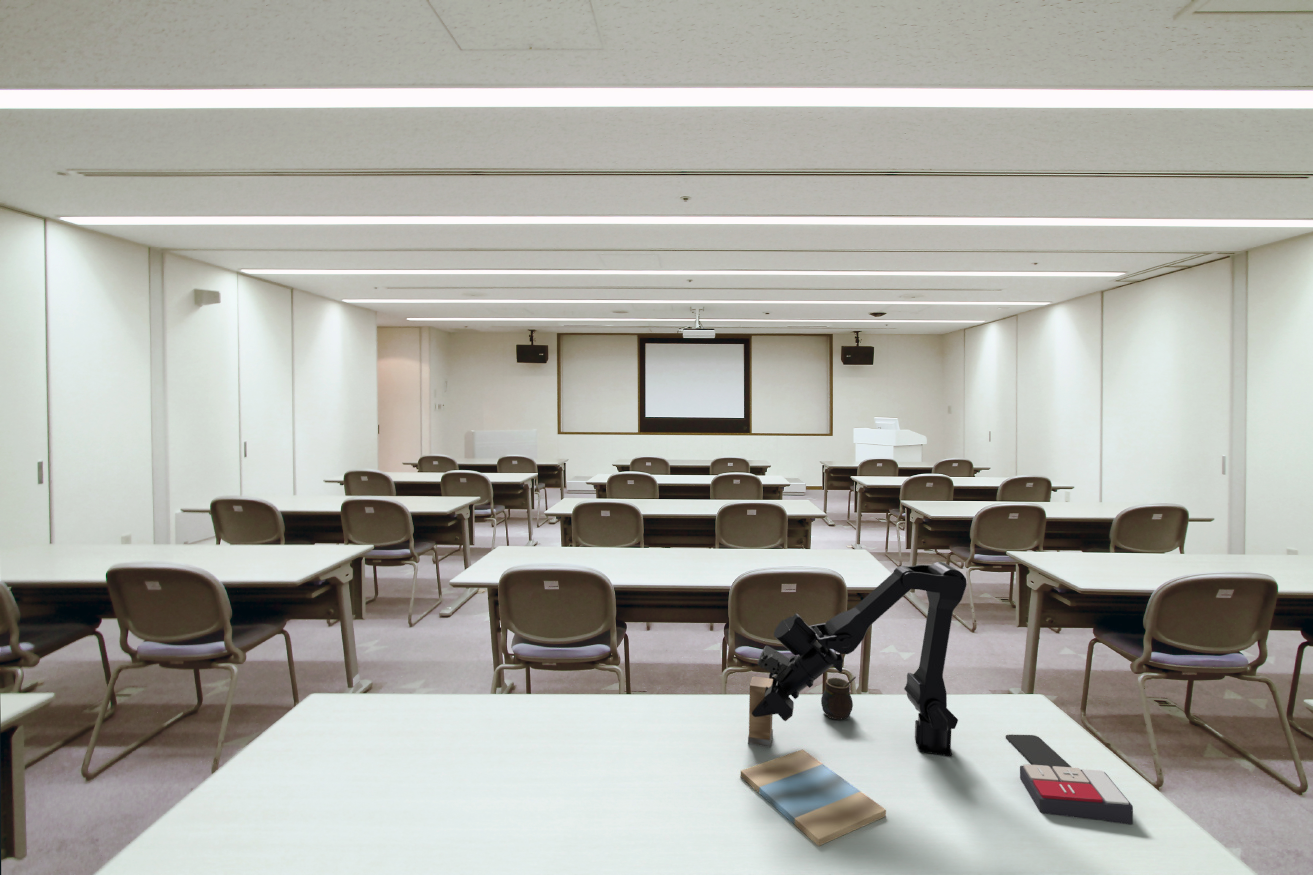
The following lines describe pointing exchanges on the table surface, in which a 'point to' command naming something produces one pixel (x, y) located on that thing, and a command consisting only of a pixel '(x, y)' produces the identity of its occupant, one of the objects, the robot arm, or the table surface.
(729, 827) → the table surface
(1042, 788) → the calculator
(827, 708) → the mate gourd
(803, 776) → the board
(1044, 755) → the phone
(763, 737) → the wooden pillar on base
